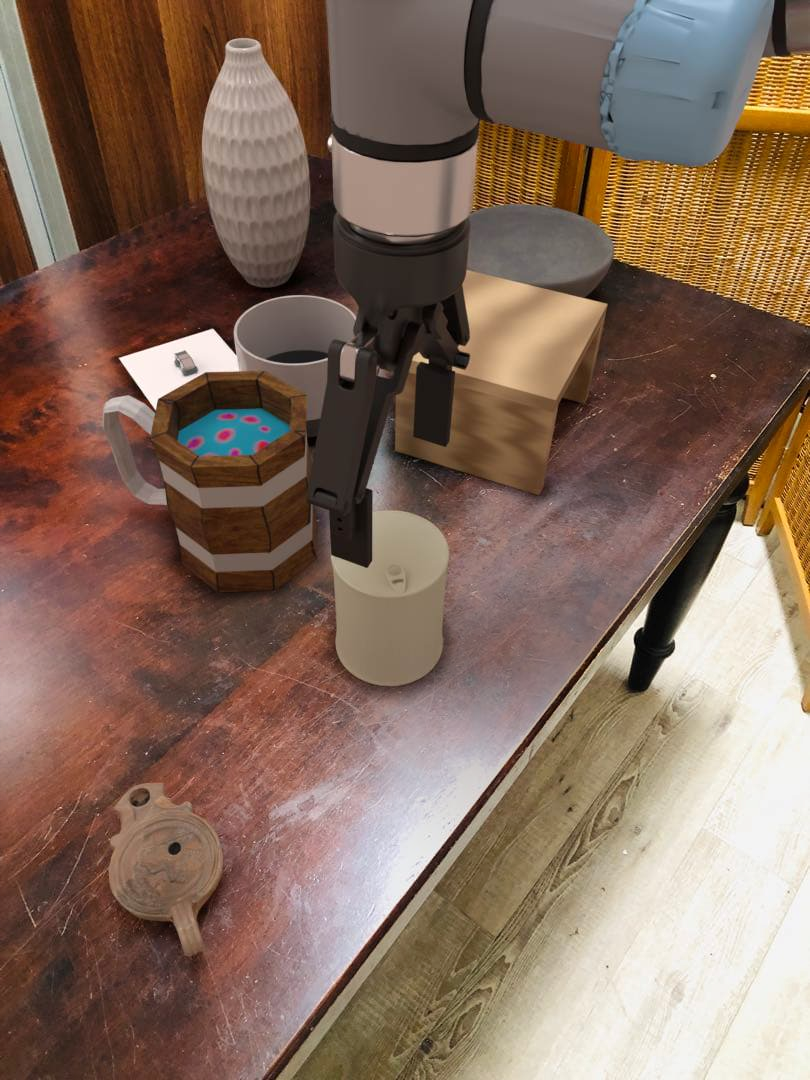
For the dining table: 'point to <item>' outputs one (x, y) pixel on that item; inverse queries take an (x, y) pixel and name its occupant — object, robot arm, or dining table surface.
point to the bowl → (539, 247)
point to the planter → (294, 344)
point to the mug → (228, 475)
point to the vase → (255, 168)
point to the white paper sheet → (179, 363)
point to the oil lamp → (164, 861)
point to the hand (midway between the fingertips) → (394, 495)
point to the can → (393, 601)
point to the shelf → (510, 380)
